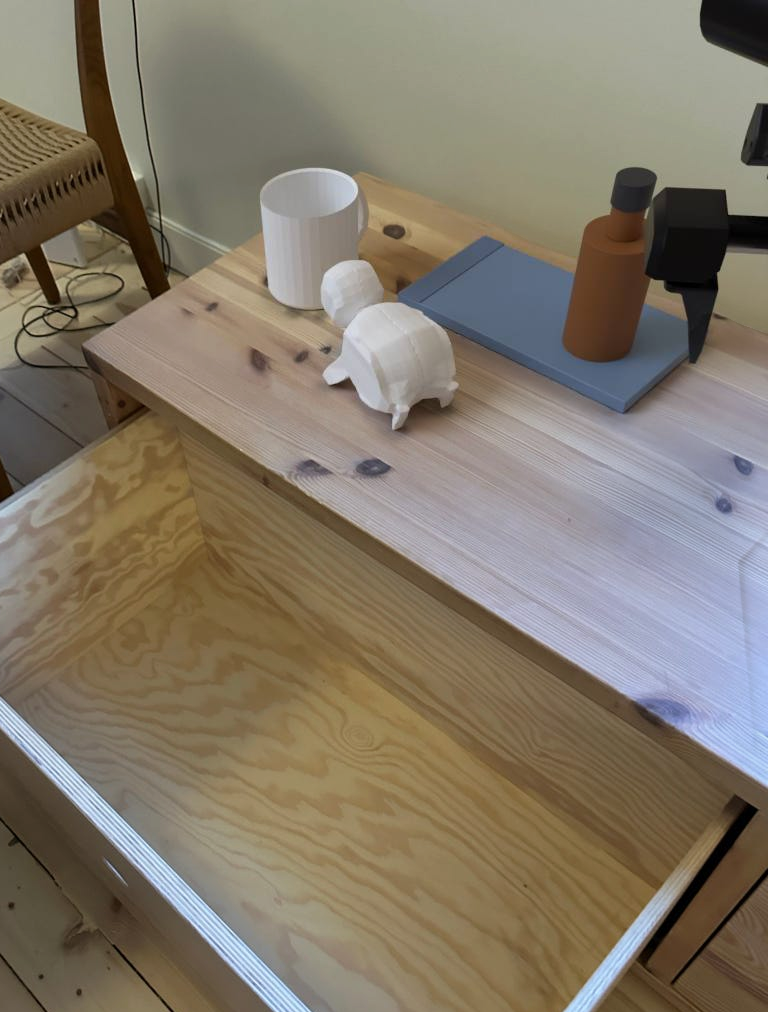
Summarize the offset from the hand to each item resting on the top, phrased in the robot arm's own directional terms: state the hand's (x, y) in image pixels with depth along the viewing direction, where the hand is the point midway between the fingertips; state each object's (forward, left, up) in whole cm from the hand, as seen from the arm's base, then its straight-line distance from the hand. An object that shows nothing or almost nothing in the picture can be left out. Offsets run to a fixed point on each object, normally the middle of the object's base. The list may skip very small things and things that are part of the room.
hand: (766, 365), depth 58 cm
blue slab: (+13, -22, -13) cm, 29 cm away
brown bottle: (+9, -18, -12) cm, 23 cm away
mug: (+35, -27, -13) cm, 46 cm away
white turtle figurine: (+27, -12, -13) cm, 32 cm away
